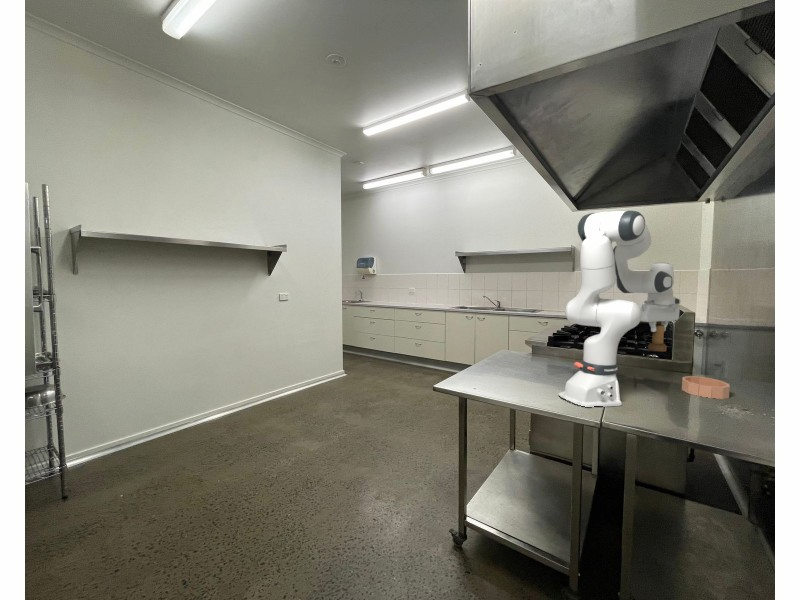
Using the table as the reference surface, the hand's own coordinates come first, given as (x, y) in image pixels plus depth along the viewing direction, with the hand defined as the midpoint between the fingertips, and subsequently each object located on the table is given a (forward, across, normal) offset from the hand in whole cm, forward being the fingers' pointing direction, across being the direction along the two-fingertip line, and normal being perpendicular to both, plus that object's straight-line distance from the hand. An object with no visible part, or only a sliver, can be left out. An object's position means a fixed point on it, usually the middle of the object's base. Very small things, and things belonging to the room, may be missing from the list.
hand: (658, 331), depth 146 cm
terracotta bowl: (+23, +4, -16) cm, 28 cm away
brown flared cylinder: (+8, 0, 0) cm, 9 cm away
